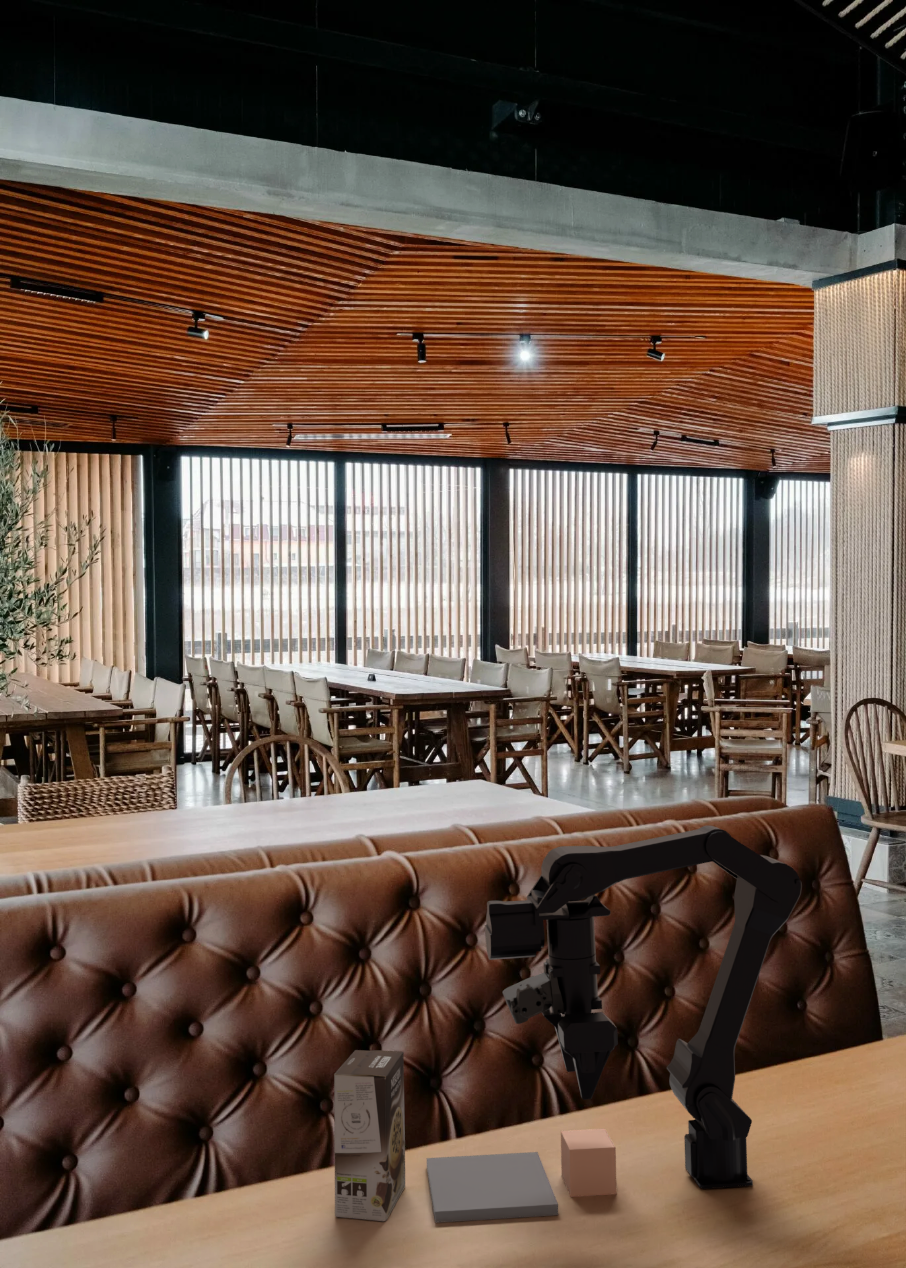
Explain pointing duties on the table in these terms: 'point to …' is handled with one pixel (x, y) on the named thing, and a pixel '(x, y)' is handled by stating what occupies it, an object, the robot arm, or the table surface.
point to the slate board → (489, 1187)
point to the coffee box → (369, 1134)
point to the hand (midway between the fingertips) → (578, 1084)
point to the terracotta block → (588, 1162)
